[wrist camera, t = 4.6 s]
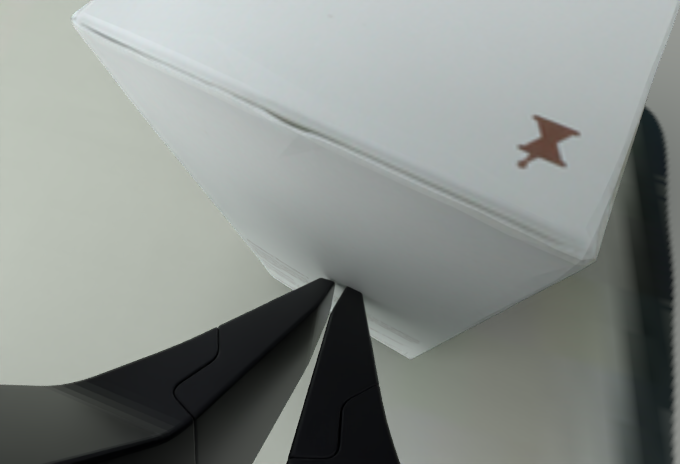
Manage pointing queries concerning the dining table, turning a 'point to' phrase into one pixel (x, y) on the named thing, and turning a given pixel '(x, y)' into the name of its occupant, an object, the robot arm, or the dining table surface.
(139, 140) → the dining table surface
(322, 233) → the supplement box
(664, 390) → the dining table surface
